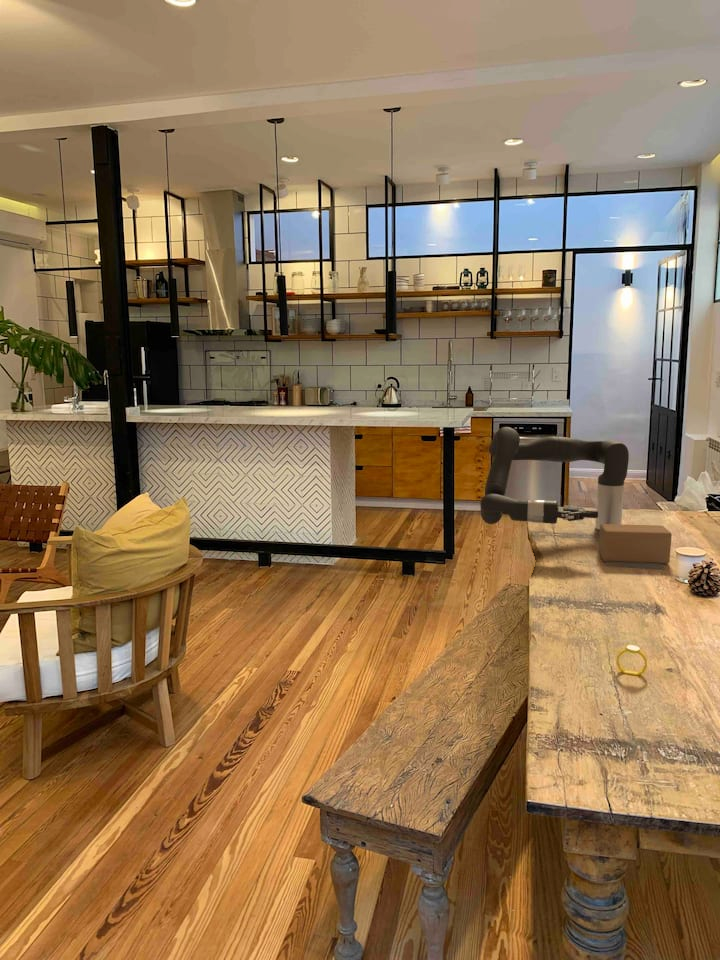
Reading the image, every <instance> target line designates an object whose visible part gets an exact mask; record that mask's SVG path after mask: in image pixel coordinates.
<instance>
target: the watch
mask: <svg viewBox="0 0 720 960" xmlns="http://www.w3.org/2000/svg"><path fill="white" fill-rule="evenodd" d="M627 652H628V653H630V654H639V655H640V656H641V657H642V658H643V661H644V665H643V667H642V668H641V669H640V670H638V671H633V670H626V669H625V668H624V667H623V666H621V663H620V661H619V659H620V657H621V656H622V654H624V653H627ZM616 666H617V668H618V670H619V672H621V673H622V674H626V675H632V676H636V677H638V676H641V675H642V674H644V672H645V671H646V670H647V667H648V659H647V656H646V655H645V653H644V652H643V651H642V650H641V649H640V647H639V646H637V645H633V644H629V645H628V644H627V645H626V646H625V648H622V649H621V650H620V651H619V652H618V653H617V656H616Z"/></svg>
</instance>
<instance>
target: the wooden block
mask: <svg viewBox="0 0 720 960" xmlns="http://www.w3.org/2000/svg"><path fill="white" fill-rule="evenodd" d="M598 538H599V539H598V554H599V555H600V556H601V558H602V560H603V561H605V562H606V561H616V562H644V563H662V564H670V563H671V562H670V561H671V560H670V558H671V550H672V549H671V548H672V533H671V532H670V531H669V530H668V529H667V528H666V526H664V525H653V524H649V525H648V524H622V523H621V524H601V525H600V530H599V537H598Z"/></svg>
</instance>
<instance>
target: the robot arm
mask: <svg viewBox="0 0 720 960" xmlns="http://www.w3.org/2000/svg"><path fill="white" fill-rule="evenodd" d="M488 452H489V454H490V456H491V457H492V458H493V460H492V464H491V466H490V469H489V471H488V474H487V479H486V482H485V487H484V495H483V496H482V497H481V499H480V502H479V503H480V504H479V505H480V507H479V508H480V517H481V519H482V520H483V522H484V523H486V524H488V525H495V524H497V523H498V522H499V521H500V520H501V519H502V517H503V513H505V514H507V516H509V519H510V520H512V521H515V522H516V521H517V522H529V523H530V522H531V523H535V524H550V525H551V524H553V525H555V524H557V523H558V519H563V521H568V522H572V521H582V520H584V519H595V523H594V524H595V525H594V527H595V529H596V530H599V531H600V525H601V524H622V521H623V520H622V519H623V507H624V506H623V505H624V490H625V489H624V487H625V480H626V478H627V475H628V469H629V459H630V456H629V455H630V454H629V449H628V447H627V445H626V444H624V443H622V442H619V441H616V440H612V439H607V440H605V439H602V440H583V439H577V438H573V437H572V438H571V437H567V436H566V437H565V436H553V435H552V436H545V437H542V438H539V439H536V440H533V441H530V442H524V443H522V442H521V437H520V434H519V432H518V431H517V429H514V428H512V427H509V426H504V427H501V428H499V429H498V430H497V431H496V432H495V434H494V436H493V438H492V440H491V441H490V445H489V448H488ZM512 461H543V462H544V461H546V462H553V463H573V462H578V461H589V462H595V463H599V464H603V472H602V473H601V474H600V475H599V476H597V477H598V478H597V489H596V490H597V491H596V492H597V493H596V494H597V496H596V509H594V510H592V509H590V510H589V509H585V508H584V507H579V506H574V505H570V504H568V505H563V506H558V505H559V504H558V501H557V500H547V499H546V500H544V499H530V500H529V499H515V498H511V497H509V496H506V493H507V492H506V491H507V487H508V482H509V481H508V480H509V476H510V470H511V465H512V463H513V462H512Z"/></svg>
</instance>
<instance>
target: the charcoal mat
mask: <svg viewBox="0 0 720 960" xmlns="http://www.w3.org/2000/svg"><path fill="white" fill-rule="evenodd" d="M605 563H606V566H607V567H616V568H617V567H618V568H633V569H646V568H648V569H647V570H660V569H663V570H662V571H665V570H666V568H665V566H664V563H644V562H616V561H605Z"/></svg>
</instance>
